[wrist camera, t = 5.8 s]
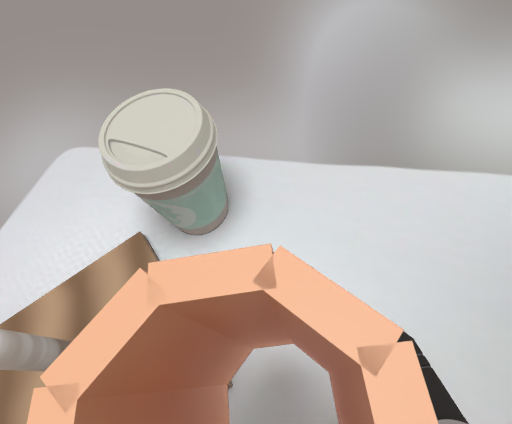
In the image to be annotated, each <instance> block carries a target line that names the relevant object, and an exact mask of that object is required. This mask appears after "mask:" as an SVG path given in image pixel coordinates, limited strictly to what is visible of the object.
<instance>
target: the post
mask: <svg viewBox="0 0 512 424" xmlns="http://www.w3.org/2000/svg"><path fill="white" fill-rule="evenodd" d="M158 261H159V259H158V257H157V255H156V254H155V252H154V250H153V249H152V247H151V245H150V244H149V242H148V240H147V238H146V237H145V236H144V235H143V234H142V233H141V232H138V233H137V234H135V235H134V236H132V237H131V238H129V239H128V240H126V241H125V242H123V243H122V244H120V245H119V246H117V247H116V248H114V249H113V250H111V251H110V252H108V253H107V254H105V255H104V256H102V257H101V258H99V259H98V260H96V261H95V262H93V263H92V264H90V265H89V266H87V267H86V268H84V269H83V270H81V271H80V272H78V273H77V274H75V275H74V276H72V277H71V278H69V279H68V280H66V281H65V282H63V283H62V284H60V285H59V286H57V287H56V288H54V289H53V290H51V291H50V292H48V293H47V294H45V295H44V296H42V297H41V298H39V299H38V300H36V301H35V302H33V303H32V304H30V305H29V306H27V307H26V308H24V309H23V310H21V311H20V312H18V313H17V314H15V315H14V316H12V317H11V318H9V319H8V320H6V321H5V322H3V323H2V324H0V424H27V419H28V414H29V410H30V405H31V400H32V395H33V390H34V388H40V387H46V385H45V384H44V382H43V381H42V380H41V378H40V376H41V375H42V374H43V373H44V372H45V371H46V369H47V368H48V367H49V366H50V365H51V364H52V363H53V362H54V361H55V360H56V359H57V357H58V356H59V355H60V354H61V353H62V352H63V351H64V350H65V349H66V348H67V347H68V346H69V344H70V343H71V342H72V341H73V340H74V339H75V338H76V337H77V336H78V335H79V334H80V332H81V331H82V330H83V329H84V328H85V327H86V326H87V325H88V324H89V323H90V322H91V320H92V319H93V318H94V317H95V316H96V315H97V314H98V313H99V312H100V311H101V310H102V309H103V307H104V306H105V305H106V304H107V303H108V302H109V301H110V300H111V299H112V298H113V297H114V295H115V294H116V293H117V292H118V291H119V290H120V289H121V288H122V287H123V286H124V285H125V284H126V282H127V281H128V280H129V279H130V278H131V277H132V276H133V275H134V274H135V273H136V272H137V270H138V269H139V268H141V269H143V270H145V271H146V272H148V263H151V262H158ZM227 386H228V389H229V388H230V387H231V386H232V383H231V381H230V382H229V383H228V384H227Z"/></svg>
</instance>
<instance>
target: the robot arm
mask: <svg viewBox="0 0 512 424" xmlns="http://www.w3.org/2000/svg"><path fill="white" fill-rule="evenodd" d="M405 341H412V342H413V345H414V348H415V351H416V355H417V358H418V361H419V364H420V367H421V370H422V374H423V377H424V380H425V383H426V386H427V389H428V392H429V396H430V399H431V402H432V405H433V408H434V411H435V415H436V418H437V421H438V424H469V423H468V422H467V421H466V419H465V418H464V417H463V415H462V413H461V412H460V410H459V409H458V407H457V406H456V404H455V403H454V401H453V399H452V398H451V396H450V395H449V393H448V392H447V390H446V389H445V387H444V385H443V384H442V382H441V381H440V379H439V378H438V376H437V375H436V373H435V372H434V370H433V368H431V366H430V364H429V362H428V361H427V359H426V358H425V356H423V354H422V351H421V350H420V348H419V347H418V345H417V344H416V342H415V341H414V339H413V338H412V337H411V336H409V335H408V334H406V333H405V332H404V331H403V332H402V334H401V336H400V337H399V339H398V341H397V342H396V343H398V342H405Z"/></svg>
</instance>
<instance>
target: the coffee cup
mask: <svg viewBox="0 0 512 424" xmlns="http://www.w3.org/2000/svg"><path fill="white" fill-rule="evenodd" d="M217 138H218V135H217V128H216V125H215V123H214V121H213V119H212V118H211V117H210V114H209V113H208V112H207V110H206V109H205V108H204V107H202V106H201V105H200V104H199V103H198V102H197V101H196V100H195V99H194V98H193V97H192V96H190V95H189V94H187V93H185V92H183V91H180V90H176V89H155V90H150V91H146V92H143V93H140V94H137V95H135V96H133V97H131V98H129V99H128V100H126V101H124V102H123V103H122V104H120V105H119V106H118V107H117V108H116V109H114V110H113V111H112V113H111V114H110V115H109V116H108V117H107V119H106V120H105V122H104V124H103V126H102V128H101V130H100V134H99V140H98V144H99V150H100V152H101V155H102V160H103V164H104V166H105V169H106V170H107V172H108V174H109V176H110V177H111V179H112V180H113V181H114V182H115V183H116V184H117V185H118V186H120V187H121V188H123V189H125V190H127V191H130V192H134V193H135V194H136V195H137V196H139V197H140V198H141V199H142V200H144V201H145V202H146V203H147V204H149V205H150V206H151V207H152V208H154V209H155V210H156V211H157V212H159V213H160V214H161V215H162V216H164V217H165V218H166V219H167V220H169V221H170V222H171V223H172V224H174V225H175V226H176V227H177V228H179V229H180V230H181V231H183V232H185V233H187V234H191V235H201V234H205V233H208V232H211V231H212V230H214V229H216V228H217V227H218V226H219V225H220V224H221V223H222V222H223V220H224V219H225V217H226V215H227V212H228V200H227V194H226V189H225V185H224V180H223V175H222V170H221V165H220V161H219V156H218V151H217V146H216V145H217Z"/></svg>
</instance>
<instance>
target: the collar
mask: <svg viewBox="0 0 512 424" xmlns="http://www.w3.org/2000/svg"><path fill="white" fill-rule="evenodd" d="M403 331H404V330H403V329H402V328H400V327H399V326H397V325H396V324H395V323H393V322H392V321H390V320H389V319H387V318H386V317H384V316H383V315H381V314H380V313H378V312H377V311H375V310H374V309H373V308H371V307H370V306H368V305H367V304H365V303H364V302H362V301H361V300H359V299H358V298H356V297H355V296H353V295H352V294H350V293H349V292H348V291H346V290H345V289H343V288H342V287H340V286H339V285H337V284H336V283H334V282H333V281H331V280H330V279H328V278H327V277H326V276H324V275H323V274H321V273H320V272H318V271H317V270H315V269H314V268H312V267H311V266H309V265H308V264H306V263H305V262H303V261H302V260H301V259H299V258H298V257H296V256H295V255H293V254H292V253H290V252H289V251H287V250H286V249H284V248H283V247H281V246H279V248H278V249H277V250H276V251H275V253H274V252H273V249H272V246H271V244H265V245H258V246H252V247H246V248H240V249H233V250H227V251H221V252H214V253H208V254H202V255H195V256H189V257H183V258H177V259H170V260H164V261H158V262H151V263H148V272H146V271H145V270H143V269H141V268H139V269H138V270H137V272H136V273H135V274H134V275H133V276H132V277H131V278H130V279H129V280H128V281H127V282H126V284H125V285H124V286H123V287H122V288H121V289H120V290H119V291H118V292H117V293H116V294H115V295H114V297H113V298H112V299H111V300H110V301H109V302H108V303H107V304H106V305H105V306H104V307H103V309H102V310H101V311H100V312H99V313H98V314H97V315H96V316H95V317H94V318H93V319H92V320H91V322H90V323H89V324H88V325H87V326H86V327H85V328H84V329H83V330H82V331H81V332H80V334H79V335H78V336H77V337H76V338H75V339H74V340H73V341H72V342H71V343H70V344H69V346H68V347H67V348H66V349H65V350H64V351H63V352H62V353H61V354H60V355H59V356H58V357H57V359H56V360H55V361H54V362H53V363H52V364H51V365H50V366H49V367H48V368H47V369H46V371H45V372H44V373H43V374H42V375H41V376H40V378H41V380H42V381H43V382H44V384H45V385H46V387H40V388H34V390H33V395H32V400H31V405H30V410H29V414H28V419H27V424H230V423H229V404H228V386H227V384H228V383H229V382H230V380H231V379H232V378H233V376H234V375H235V373H236V372H237V371H238V369H239V368H240V367H241V365H242V364H243V363H244V361H245V360H246V358H247V357H248V356H249V354H250V353H251V352H252V350H253V349H255V348H263V347H271V346H279V345H286V344H295V345H296V346H297V347H299V348H300V349H301V350H302V351H303V352H305V353H306V354H307V355H308V356H310V357H311V358H312V359H313V360H314V361H316V362H317V363H318V364H319V365H321V366H322V367H323V368H324V369H325V370H327V371H328V372H329V375H330V380H331V386H332V391H333V396H334V401H335V406H336V412H337V417H338V422H339V424H438V421H437V418H436V415H435V411H434V408H433V405H432V402H431V399H430V396H429V392H428V389H427V386H426V383H425V380H424V377H423V374H422V370H421V367H420V364H419V361H418V358H417V355H416V351H415V348H414V345H413V342H412V341H405V342H398V343H396V342H397V341H398V339H399V337H400V336H401V334H402V332H403Z"/></svg>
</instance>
